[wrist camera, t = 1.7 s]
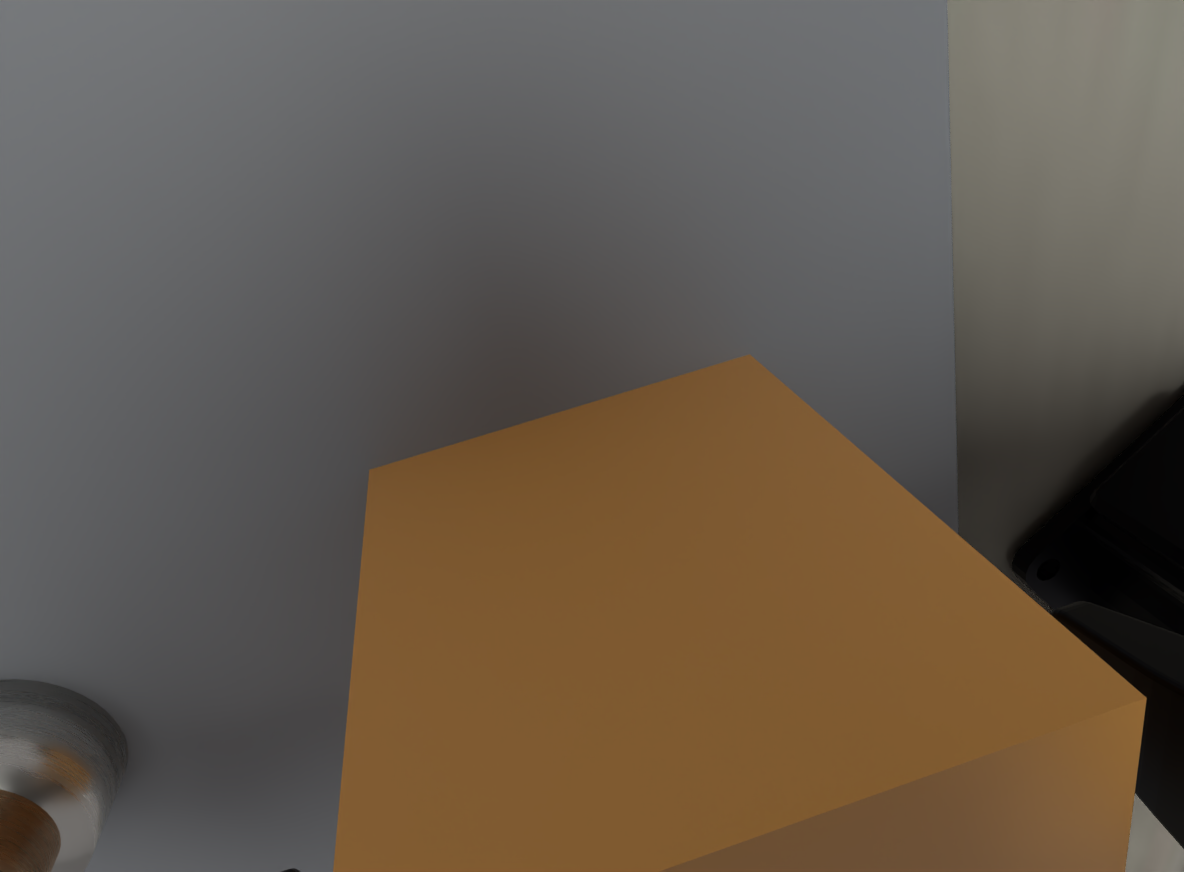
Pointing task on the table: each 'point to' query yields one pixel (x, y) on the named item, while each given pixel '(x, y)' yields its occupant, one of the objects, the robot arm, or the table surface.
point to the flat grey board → (405, 318)
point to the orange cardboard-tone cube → (709, 661)
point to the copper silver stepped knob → (54, 776)
